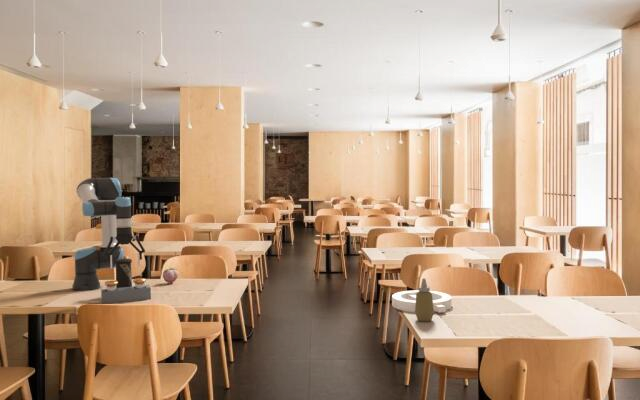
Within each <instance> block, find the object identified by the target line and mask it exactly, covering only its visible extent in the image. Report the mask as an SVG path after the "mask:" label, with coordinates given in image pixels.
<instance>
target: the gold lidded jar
mask: <svg viewBox="0 0 640 400" xmlns="http://www.w3.org/2000/svg"><path fill="white" fill-rule="evenodd" d="M132 280H133V281H132V283H134V286H135V289H138V288H145V283H146V282H147V278H143V277H142V278H141V277H139V278H135V279H132Z"/></svg>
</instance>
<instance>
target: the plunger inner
mask: <svg viewBox="0 0 640 400" xmlns="http://www.w3.org/2000/svg"><path fill="white" fill-rule="evenodd" d="M116 284H118V281H116V280H108V281H104V285H105V286H106V289H107V291H117V287H116Z"/></svg>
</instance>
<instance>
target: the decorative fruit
mask: <svg viewBox="0 0 640 400" xmlns="http://www.w3.org/2000/svg"><path fill="white" fill-rule="evenodd" d="M178 277H179V272H178V268H175V267H172V268H171V267H170V268H166V269H165V270H163V273H162V278H163V280H164V281H165V282H166V283H168V284H170V283H171V284H172V283H174V282H175V281H176V280H177V279H178Z"/></svg>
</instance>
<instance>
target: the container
mask: <svg viewBox="0 0 640 400" xmlns="http://www.w3.org/2000/svg"><path fill="white" fill-rule="evenodd" d="M132 263H133V260H132V259H131V258H123V259H117V260H115V264H116V267H115V274H116V275H115V278H116V279H115V281H118V284H116V287H117V288H123V287H133V281H132V280H133V277H132V275H133V274H132Z"/></svg>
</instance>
